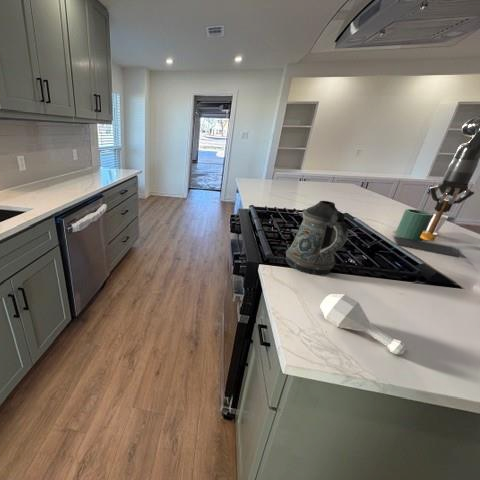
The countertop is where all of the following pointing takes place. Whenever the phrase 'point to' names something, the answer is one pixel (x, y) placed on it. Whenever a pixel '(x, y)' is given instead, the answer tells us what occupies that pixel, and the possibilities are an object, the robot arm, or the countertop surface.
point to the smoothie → (440, 223)
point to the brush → (434, 224)
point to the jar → (413, 224)
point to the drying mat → (426, 246)
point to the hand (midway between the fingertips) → (440, 211)
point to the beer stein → (318, 239)
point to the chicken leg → (355, 320)
